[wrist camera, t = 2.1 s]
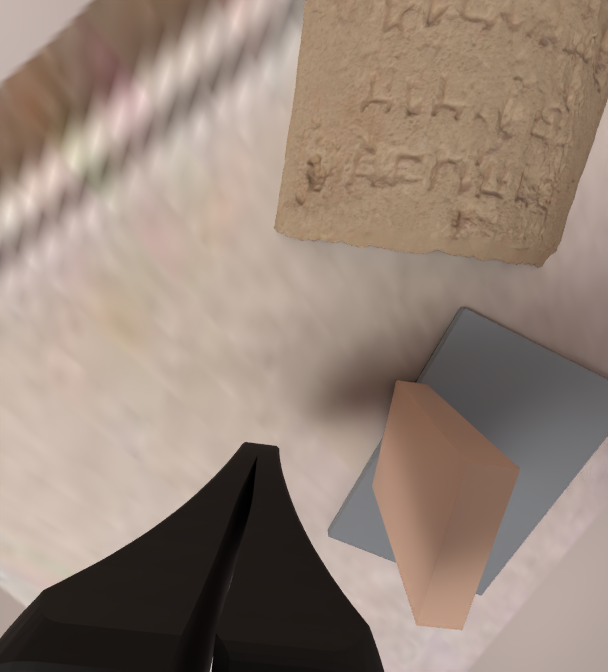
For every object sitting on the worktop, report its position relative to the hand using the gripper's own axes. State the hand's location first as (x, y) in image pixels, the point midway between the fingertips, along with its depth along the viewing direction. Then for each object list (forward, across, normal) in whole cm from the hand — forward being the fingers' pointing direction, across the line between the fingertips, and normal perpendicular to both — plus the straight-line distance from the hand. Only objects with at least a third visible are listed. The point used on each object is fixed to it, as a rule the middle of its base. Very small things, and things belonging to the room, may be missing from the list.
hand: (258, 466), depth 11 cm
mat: (+4, -11, +1) cm, 12 cm away
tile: (+3, -7, 0) cm, 7 cm away
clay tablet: (+5, -6, -14) cm, 16 cm away
